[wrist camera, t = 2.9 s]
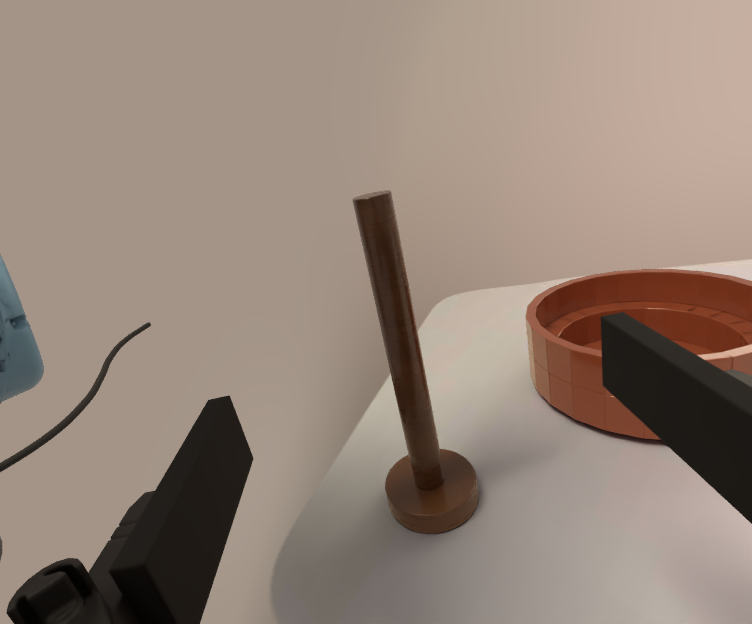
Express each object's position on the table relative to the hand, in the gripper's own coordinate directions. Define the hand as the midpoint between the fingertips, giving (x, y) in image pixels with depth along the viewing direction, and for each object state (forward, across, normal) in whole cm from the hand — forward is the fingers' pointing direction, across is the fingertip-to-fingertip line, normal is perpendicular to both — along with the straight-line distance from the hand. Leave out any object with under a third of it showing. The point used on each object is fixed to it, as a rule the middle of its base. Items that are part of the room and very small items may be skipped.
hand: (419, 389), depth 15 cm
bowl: (+18, +19, -14) cm, 30 cm away
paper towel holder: (+10, 0, -14) cm, 17 cm away
